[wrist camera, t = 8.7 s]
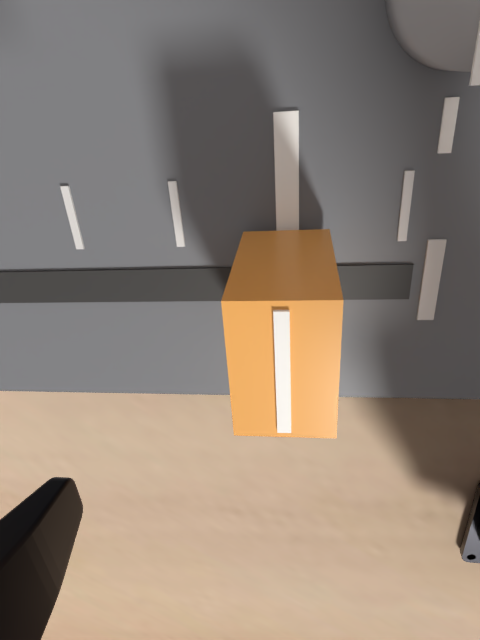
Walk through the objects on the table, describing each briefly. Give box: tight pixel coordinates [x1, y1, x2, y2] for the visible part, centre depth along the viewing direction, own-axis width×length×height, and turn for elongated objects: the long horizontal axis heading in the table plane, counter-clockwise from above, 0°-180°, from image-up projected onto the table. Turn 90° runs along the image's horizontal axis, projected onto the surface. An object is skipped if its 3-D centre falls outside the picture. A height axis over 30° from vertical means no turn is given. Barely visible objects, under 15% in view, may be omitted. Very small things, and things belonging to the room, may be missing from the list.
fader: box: [221, 229, 344, 438], centre depth 14 cm, size 4×3×6 cm, turn 4°
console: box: [0, 0, 480, 399], centre depth 16 cm, size 18×26×4 cm
